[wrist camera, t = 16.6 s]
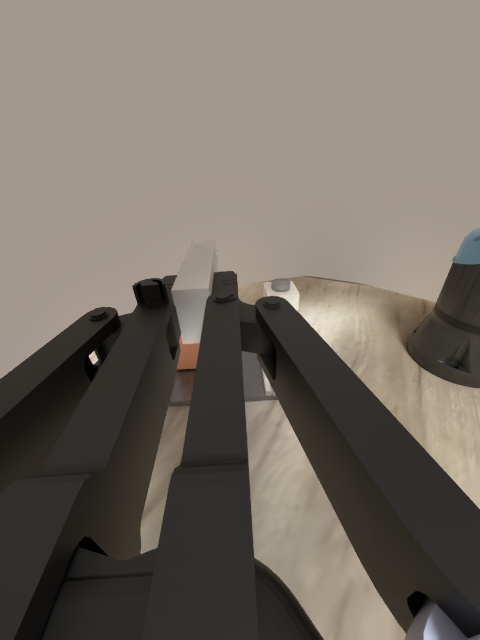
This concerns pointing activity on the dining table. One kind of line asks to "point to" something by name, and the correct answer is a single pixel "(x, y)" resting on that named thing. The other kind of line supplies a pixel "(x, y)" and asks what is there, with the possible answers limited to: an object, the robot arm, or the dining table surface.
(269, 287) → the white square bottle
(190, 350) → the orange square bottle
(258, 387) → the dark grey divided tray
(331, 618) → the dining table surface
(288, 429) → the dining table surface
